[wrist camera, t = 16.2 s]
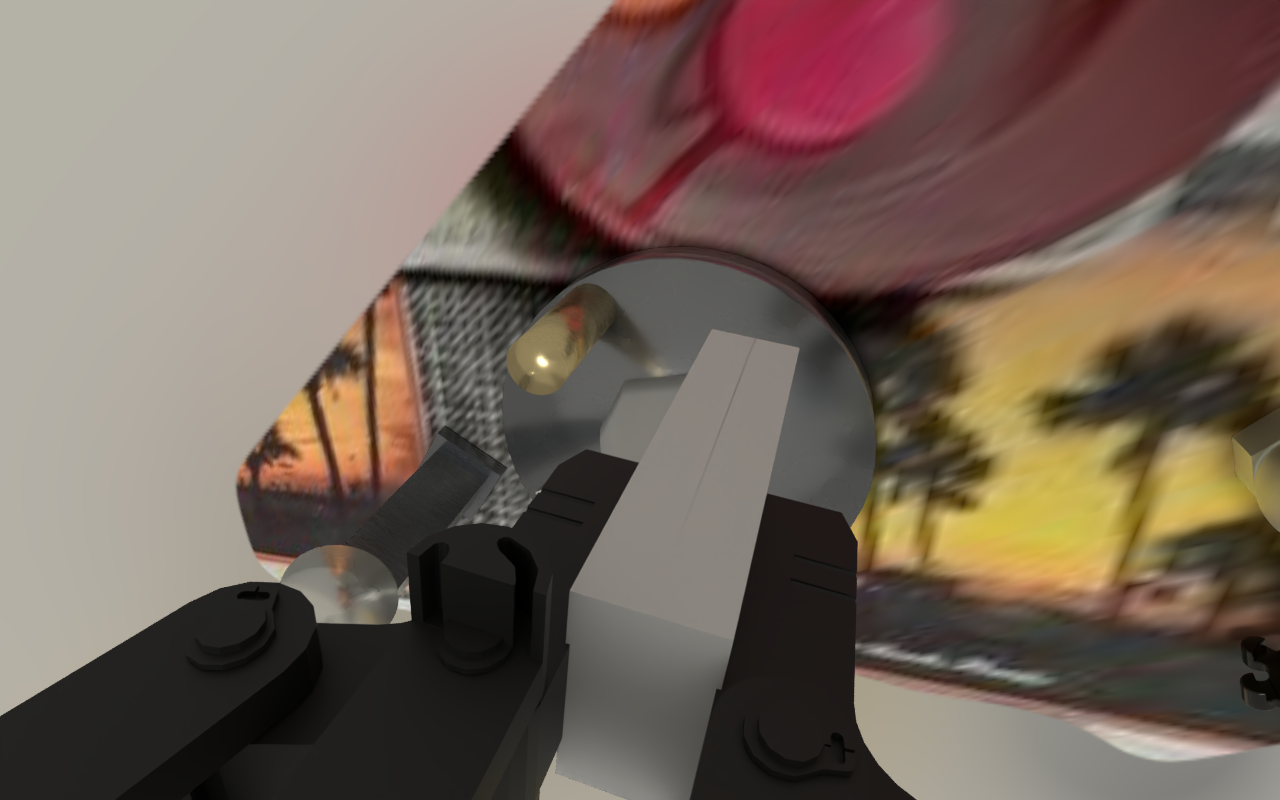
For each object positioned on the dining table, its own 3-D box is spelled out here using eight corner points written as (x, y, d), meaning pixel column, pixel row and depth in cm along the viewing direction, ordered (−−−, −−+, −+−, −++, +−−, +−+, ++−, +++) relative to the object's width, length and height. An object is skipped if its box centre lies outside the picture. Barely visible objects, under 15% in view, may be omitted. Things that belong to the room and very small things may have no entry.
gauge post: (515, 461, 37) (354, 668, 25) (480, 514, 39) (318, 726, 27) (447, 415, 37) (251, 601, 25) (416, 470, 39) (224, 665, 27)
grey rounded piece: (764, 168, 27) (735, 216, 20) (935, 501, 32) (962, 639, 24) (460, 344, 34) (357, 425, 27) (634, 593, 39) (587, 719, 32)
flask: (596, 489, 33) (510, 645, 25) (607, 355, 30) (513, 482, 21) (744, 525, 32) (707, 703, 23) (774, 389, 28) (744, 540, 20)
